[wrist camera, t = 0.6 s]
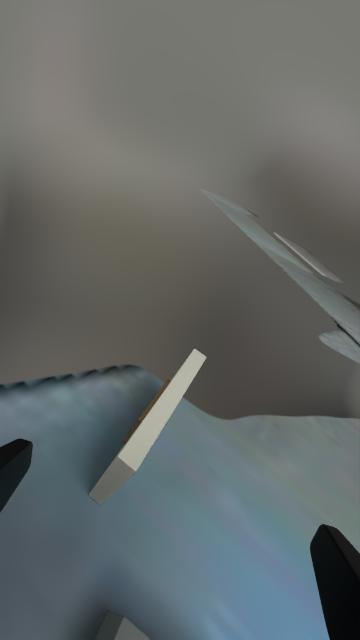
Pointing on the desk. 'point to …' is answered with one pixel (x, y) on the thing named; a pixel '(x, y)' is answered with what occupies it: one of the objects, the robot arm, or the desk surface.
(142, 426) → the plaque
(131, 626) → the base block
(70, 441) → the desk surface
